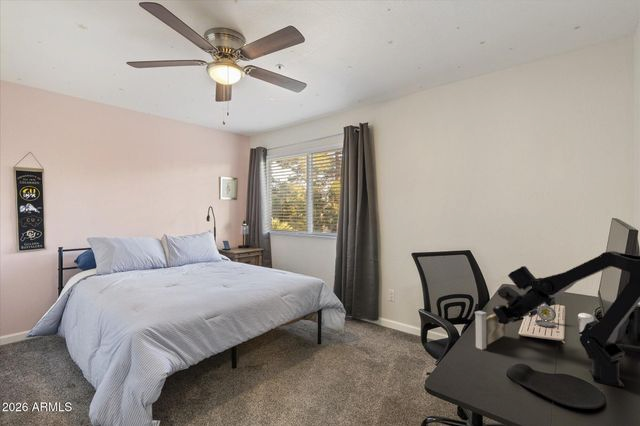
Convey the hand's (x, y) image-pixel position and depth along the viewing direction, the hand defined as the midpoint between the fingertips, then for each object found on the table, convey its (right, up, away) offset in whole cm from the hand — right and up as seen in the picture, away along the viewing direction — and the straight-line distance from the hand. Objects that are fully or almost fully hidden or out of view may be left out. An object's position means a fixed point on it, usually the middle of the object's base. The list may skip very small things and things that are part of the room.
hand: (499, 322), depth 117 cm
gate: (-3, -6, -1) cm, 7 cm away
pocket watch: (+29, -7, +16) cm, 34 cm away
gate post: (-11, -7, -6) cm, 14 cm away
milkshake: (+35, -7, +2) cm, 36 cm away
